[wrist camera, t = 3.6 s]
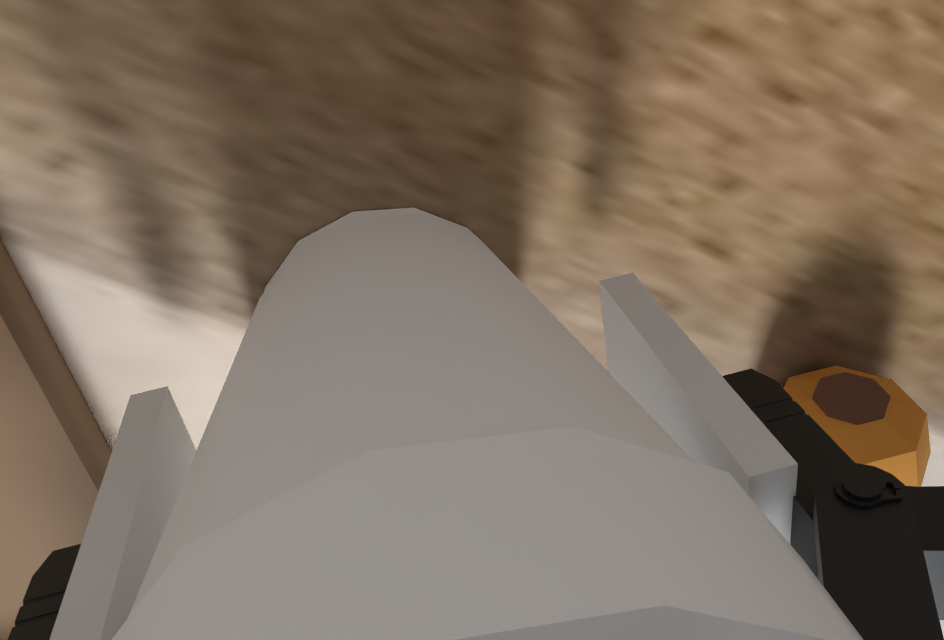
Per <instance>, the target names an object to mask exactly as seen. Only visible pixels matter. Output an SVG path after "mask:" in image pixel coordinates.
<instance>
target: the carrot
mask: <svg viewBox="0 0 944 640" xmlns="http://www.w3.org/2000/svg"><path fill="white" fill-rule="evenodd" d="M783 389H784V390H785V391H786V392H787V393H788V394H789V395H790V396H791V397H792V400H793V401H796V402H797V403H798V404H799V405H800V406H801V407H802V408H803V409H804V410H805V413H806V415H809V416H810V417H811V418H812V419H813V420H814V421H815V422H816V423H817V424H818V425H819V426H820V427H821V428H822V429H823V430H824V431H825V432H826V433H827V434H828V435H829V436H830V437H831V438H832V439H833V440H834V441H835V442H836V444H837V445H838V446H839V447H840V448H841V449H842V450H843V451H844V452H845V453H846V454H847V455H848V456H849V457H850V458H851V459H852V460H853V461H854V462H855V463H859V464H865V465H870V466H875V467H877V468H880V469H882V470H884V471H886V472H889V473H891V474H892V475H894V476H895V477H896V478H897V479H899V480H900V481H901V482H902V483H903V484H904V485H905V486H917V487H921V484H922V481H923V477H924V473H925V470H926V466H927V462H928V459H929V455H930V442H929V432H928V422H927V414H926V413H925V412H924V411H923V410H922V409H921V408H920V407H919V406H918V405H917V404H916V403H915V402H914V401H913V400H912V399H911V398H910V397H909V396H908V395H907V394H906V393H905V392H904V391H903V390H902V389H901V388H900V387H899V386H898V385H897V384H896V383H895V382H894V381H893V380H892V379H888V378H884V377H880V376H876V375H872V374H868V373H864V372H860V371H856V370H852V369H848V368H844V367H840V366H832V367H828V368H824V369H820V370H816V371H812V372H808V373H804V374H800V375H796V376H792V377H788V379H787V382H786V384H785V386H784V388H783Z"/></svg>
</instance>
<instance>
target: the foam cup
mask: <svg viewBox="0 0 944 640" xmlns="http://www.w3.org/2000/svg"><path fill="white" fill-rule="evenodd" d="M112 640H863V638H862V637H861V636H860V634H859V633H858V632H857V630H856V629H855V628H854V626H853V625H852V624H851V623H850V621H849V620H848V619H847V617H846V616H845V615H844V613H843V612H842V611H841V609H840V608H839V607H838V605H837V604H836V603H835V601H834V600H833V599H832V597H831V596H830V595H829V593H828V592H827V591H826V589H825V588H824V587H823V585H822V584H821V583H820V581H819V580H818V579H817V577H816V576H815V575H814V573H813V572H812V571H811V569H810V568H809V567H808V565H807V564H806V563H805V561H804V560H803V559H802V558H801V557H800V555H799V554H798V553H797V552H796V551H795V550H794V548H793V547H792V546H791V545H790V544H789V543H788V541H787V540H786V539H785V538H784V537H783V535H782V534H781V533H780V532H779V531H778V530H777V528H776V527H775V526H774V525H773V524H772V523H771V521H770V520H769V519H768V518H767V517H766V516H765V514H764V513H763V512H762V511H761V510H760V508H759V507H758V506H757V505H756V504H755V503H754V501H753V500H752V499H751V498H750V497H749V496H748V494H747V493H746V492H745V491H744V490H743V488H742V487H741V486H740V485H739V484H738V483H737V481H736V480H735V479H734V478H733V477H732V476H731V474H730V473H729V472H726V471H722V470H719V469H715V468H712V467H709V466H705V465H702V464H698V463H696V462H695V461H694V460H693V459H692V458H691V457H690V456H689V455H688V454H687V453H686V452H685V451H684V450H683V449H682V448H681V447H680V446H679V445H678V444H677V443H676V442H675V441H674V440H673V439H672V438H671V437H670V435H669V434H668V433H667V432H666V431H665V430H664V429H663V428H662V427H661V426H660V425H659V424H658V423H657V422H656V421H655V420H654V419H653V418H652V417H651V416H650V415H649V414H648V413H647V412H646V411H645V410H644V409H643V408H642V406H641V405H640V404H639V403H638V402H637V401H636V400H635V399H634V398H633V397H632V396H631V395H630V394H629V393H628V392H627V391H626V390H625V389H624V388H623V387H622V386H621V385H620V384H619V383H618V382H617V381H616V380H615V379H614V377H613V376H612V375H611V374H610V373H609V372H608V371H607V370H606V369H605V368H604V367H603V366H602V365H601V364H600V363H599V362H598V361H597V360H596V359H595V358H594V357H593V356H592V355H591V354H590V353H589V352H588V351H587V350H586V348H585V347H584V346H583V345H582V344H581V343H580V342H579V341H578V340H577V339H576V338H575V337H574V336H573V335H572V334H571V333H570V332H569V331H568V330H567V329H566V328H565V327H564V326H563V325H562V324H561V323H560V322H559V321H558V319H557V318H556V317H555V316H554V315H553V314H552V313H551V312H550V311H549V310H548V309H547V308H546V307H545V306H544V305H543V304H542V303H541V302H540V301H539V300H538V299H537V298H536V297H535V296H534V295H533V294H532V293H531V292H530V290H529V289H528V288H527V287H526V286H525V285H524V284H523V283H522V282H521V281H520V280H519V279H518V278H517V277H516V276H515V275H514V274H513V273H512V272H511V271H510V270H509V269H508V268H507V267H506V266H505V265H504V264H503V263H502V261H501V260H500V259H499V258H498V257H497V256H496V255H495V254H494V253H493V252H492V251H491V250H490V249H489V248H488V247H487V246H486V245H485V244H484V243H483V242H482V241H481V240H480V239H479V238H478V237H477V236H476V235H474V234H473V233H472V232H471V230H470V229H469V228H466V227H464V226H461V225H459V224H456V223H453V222H451V221H448V220H446V219H443V218H440V217H438V216H435V215H432V214H430V213H427V212H425V211H422V210H419V209H417V208H399V209H385V210H370V211H355V212H351V213H349V214H347V215H345V216H343V217H342V218H340V219H338V220H336V221H334V222H332V223H330V224H329V225H327V226H325V227H323V228H321V229H319V230H317V231H316V232H314V233H312V234H310V235H308V236H306V237H304V238H303V239H301V240H299V241H298V242H297V243H296V245H295V246H294V247H293V249H292V250H291V252H290V253H289V254H288V256H287V257H286V259H285V260H284V261H283V263H282V264H281V266H280V267H279V268H278V270H277V271H276V273H275V274H274V275H273V277H272V278H271V280H270V281H269V282H268V284H267V285H266V287H265V290H264V293H263V294H262V296H261V297H260V299H259V301H258V303H257V306H256V308H255V311H254V313H253V315H252V318H251V320H250V323H249V325H248V328H247V330H246V332H245V335H244V337H243V340H242V342H241V345H240V347H239V349H238V352H237V354H236V357H235V359H234V362H233V364H232V366H231V369H230V371H229V374H228V376H227V379H226V381H225V383H224V386H223V388H222V391H221V393H220V396H219V398H218V400H217V403H216V405H215V408H214V410H213V413H212V415H211V417H210V420H209V422H208V425H207V427H206V429H205V432H204V434H203V437H202V439H201V442H200V444H199V446H198V449H197V451H196V454H195V456H194V459H193V461H192V463H191V466H190V468H189V471H188V473H187V476H186V478H185V480H184V483H183V485H182V488H181V490H180V493H179V495H178V497H177V500H176V502H175V505H174V507H173V510H172V512H171V514H170V517H169V519H168V522H167V524H166V527H165V529H164V531H163V534H162V536H161V539H160V541H159V543H158V546H157V548H156V551H155V553H154V556H153V558H152V560H151V563H150V565H149V568H148V570H147V573H146V575H145V577H144V580H143V582H142V585H141V587H140V590H139V592H138V594H137V597H136V599H135V602H134V604H133V607H132V609H131V611H130V614H129V616H128V619H127V620H126V621H125V623H124V624H123V625H122V627H121V628H120V629H119V630H118V632H117V633H116V634H115V636H114V637H113V638H112Z"/></svg>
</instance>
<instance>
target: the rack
mask: <svg viewBox="0 0 944 640" xmlns="http://www.w3.org/2000/svg"><path fill="white" fill-rule="evenodd" d="M111 453H112V451H111V450H110V448H109V446H108V444H107V442H106V440H105V438H104V436H103V434H102V432H101V430H100V429H99V427H98V425H97V423H96V421H95V419H94V417H93V415H92V413H91V411H90V409H89V408H88V406H87V404H86V402H85V400H84V398H83V396H82V394H81V392H80V390H79V388H78V387H77V385H76V383H75V381H74V379H73V377H72V375H71V373H70V371H69V369H68V367H67V366H66V364H65V362H64V360H63V358H62V356H61V354H60V352H59V350H58V348H57V346H56V345H55V343H54V341H53V339H52V337H51V335H50V333H49V331H48V329H47V327H46V325H45V324H44V322H43V320H42V318H41V316H40V314H39V312H38V310H37V308H36V306H35V304H34V303H33V301H32V299H31V297H30V295H29V293H28V291H27V289H26V287H25V285H24V283H23V282H22V280H21V278H20V276H19V274H18V272H17V270H16V268H15V266H14V264H13V262H12V261H11V259H10V257H9V255H8V253H7V251H6V249H5V247H4V245H3V243H2V241H1V239H0V640H8V637H9V635H10V632H11V630H12V628H13V627H15V623H14V622H15V619H16V617H17V614H18V612H19V609H20V607H21V606H23V602H22V601H23V599H24V596H25V594H26V591H27V589H28V586H29V583H30V581H31V578H32V576H33V575H34V573H35V572H36V571H37V570H38V569H39V567H40V566H41V565H42V564H43V562H44V561H45V560H46V559H47V557H48V556H49V555H50V554H51V553H52V551H54V550H58V549H62V548H66V547H70V546H74V545H78V544H81V543H82V540H83V537H84V534H85V531H86V528H87V525H88V522H89V519H90V516H91V513H92V510H93V507H94V504H95V501H96V498H97V495H98V492H99V489H100V486H101V483H102V480H103V477H104V474H105V471H106V468H107V465H108V462H109V459H110V456H111Z"/></svg>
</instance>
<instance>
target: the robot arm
mask: <svg viewBox="0 0 944 640" xmlns="http://www.w3.org/2000/svg"><path fill="white" fill-rule="evenodd" d="M599 282H600V293H601V304H602V314H603V325H604V336H605V347H606V358H607V368H608V372H609V373H610V374H611V375H612V376H613V377H614V379H615V380H616V381H617V382H618V383H619V384H620V385H621V386H622V387H623V388H624V389H625V390H626V391H627V392H628V393H629V394H630V395H631V396H632V397H633V398H634V399H635V400H636V401H637V402H638V403H639V404H640V405H641V406H642V408H643V409H644V410H645V411H646V412H647V413H648V414H649V415H650V416H651V417H652V418H653V419H654V420H655V421H656V422H657V423H658V424H659V425H660V426H661V427H662V428H663V429H664V430H665V431H666V432H667V433H668V434H669V435H670V437H671V438H672V439H673V440H674V441H675V442H676V443H677V444H678V445H679V446H680V447H681V448H682V449H683V450H684V451H685V452H686V453H687V454H688V455H689V456H690V457H691V458H692V459H693V460H694V461H695V462H696V463H698V464H702V465H705V466H709V467H712V468H715V469H719V470H722V471H726V472H729V473H730V474H731V476H732V477H733V478H734V479H735V480H736V481H737V483H738V484H739V485H740V486H741V487H742V488H743V490H744V491H745V492H746V493H747V494H748V496H749V497H750V498H751V499H752V500H753V501H754V503H755V504H756V505H757V506H758V507H759V508H760V510H761V511H762V512H763V513H764V514H765V516H766V517H767V518H768V519H769V520H770V521H771V523H772V524H773V525H774V526H775V527H776V528H777V530H778V531H779V532H780V533H781V534H782V535H783V537H784V538H785V539H786V540H787V541H788V543H789V544H790V545H791V546H792V547H793V548H794V550H795V551H796V552H797V553H798V554H799V555H800V557H801V558H802V559H803V560H804V561H805V563H806V564H807V565H808V567H809V568H810V569H811V571H812V572H813V573H814V575H815V576H816V577H817V579H818V580H819V581H820V583H821V584H822V585H823V587H824V588H825V589H826V591H827V592H828V593H829V595H830V596H831V597H832V599H833V600H834V601H835V603H836V604H837V605H838V607H839V608H840V609H841V611H842V612H843V613H844V615H845V616H846V617H847V619H848V620H849V621H850V623H851V624H852V625H853V626H854V628H855V629H856V630H857V632H858V633H859V634H860V636H861V637H862V638H863V640H944V638H943V634H942V630H941V625H940V621H939V620H944V486H938V487H917V486H905V485H904V484H903V483H902V482H901V481H900V480H899V479H897V478H896V477H895V476H894V475H892V474H891V473H889V472H886V471H884V470H882V469H880V468H877V467H875V466H870V465H865V464H859V463H855V462H854V461H853V460H852V459H851V458H850V457H849V456H848V455H847V454H846V453H845V452H844V451H843V450H842V449H841V448H840V447H839V446H838V445H837V444H836V442H835V441H834V440H833V439H832V438H831V437H830V436H829V435H828V434H827V433H826V432H825V431H824V430H823V429H822V428H821V427H820V426H819V425H818V424H817V423H816V422H815V421H814V420H813V419H812V418H811V417H810V416H809V415H806V413H805V410H804V409H803V408H802V407H801V406H800V405H799V404H798V403H797V402H796V401H793V400H792V397H791V396H790V395H789V394H788V393H787V392H786V391H785V390H784V389H783V388H782V387H781V386H780V385H779V384H778V383H777V382H776V381H775V380H773V379H771V378H769V377H767V376H765V375H763V374H761V373H759V372H757V371H755V370H753V369H748V370H744V371H740V372H736V373H733V374H729V375H725V376H721V374H720V373H719V372H718V371H717V370H716V369H715V368H714V366H713V365H712V364H711V363H710V362H709V361H708V359H707V358H706V357H705V356H704V355H703V354H702V353H701V351H700V350H699V349H698V348H697V347H696V346H695V344H694V343H693V342H692V341H691V340H690V339H689V338H688V336H687V335H686V334H685V333H684V332H683V331H682V329H681V328H680V327H679V326H678V325H677V324H676V323H675V321H674V320H673V319H672V318H671V317H670V316H669V314H668V313H667V312H666V311H665V310H664V309H663V308H662V306H661V305H660V304H659V303H658V302H657V301H656V299H655V298H654V297H653V296H652V295H651V294H650V293H649V291H648V290H647V289H646V288H645V287H644V286H643V284H642V283H641V282H640V281H639V280H638V279H637V278H636V276H635V275H634V274H633V273H630V274H626V275H622V276H618V277H614V278H610V279H606V280H602V281H599ZM195 454H196V449H195V446H194V444H193V442H192V440H191V438H190V435H189V433H188V431H187V429H186V426H185V424H184V422H183V420H182V418H181V415H180V413H179V411H178V409H177V407H176V404H175V402H174V400H173V398H172V395H171V393H170V391H169V389H168V387H163V388H159V389H155V390H151V391H146V392H142V393H138V394H134V395H131V396H130V399H129V402H128V405H127V408H126V411H125V414H124V417H123V420H122V423H121V426H120V429H119V432H118V435H117V438H116V441H115V444H114V447H113V450H112V453H111V456H110V459H109V462H108V465H107V468H106V471H105V474H104V477H103V480H102V483H101V486H100V489H99V492H98V495H97V498H96V501H95V504H94V507H93V510H92V513H91V516H90V519H89V522H88V525H87V528H86V531H85V534H84V537H83V540H82V543H81V544H78V545H74V546H70V547H66V548H62V549H58V550H54V551H52V553H51V554H50V555H49V556H48V557H47V559H46V560H45V561H44V562H43V564H42V565H41V566H40V567H39V569H38V570H37V571H36V572H35V573H34V575H33V576H32V578H31V581H30V583H29V586H28V589H27V591H26V594H25V596H24V599H23V601H22V602H23V606H21V607H20V609H19V612H18V614H17V617H16V619H15V622H14V623H15V627H13V628H12V630H11V632H10V635H9V637H8V640H112V638H113V637H114V636H115V634H116V633H117V632H118V630H119V629H120V628H121V627H122V625H123V624H124V623H125V621H126V620H127V619H128V616H129V614H130V611H131V609H132V607H133V604H134V602H135V599H136V597H137V594H138V592H139V590H140V587H141V585H142V582H143V580H144V577H145V575H146V573H147V570H148V568H149V565H150V563H151V560H152V558H153V556H154V553H155V551H156V548H157V546H158V543H159V541H160V539H161V536H162V534H163V531H164V529H165V527H166V524H167V522H168V519H169V517H170V514H171V512H172V510H173V507H174V505H175V502H176V500H177V497H178V495H179V493H180V490H181V488H182V485H183V483H184V480H185V478H186V476H187V473H188V471H189V468H190V466H191V463H192V461H193V459H194V456H195Z"/></svg>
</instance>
